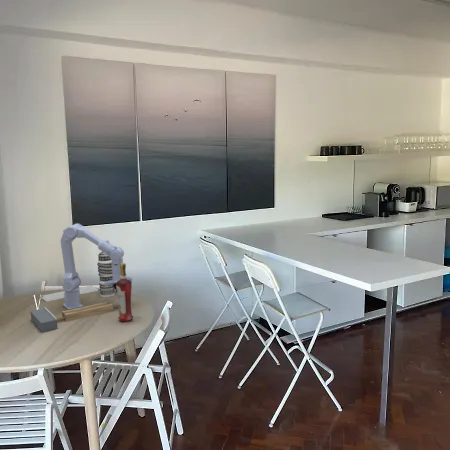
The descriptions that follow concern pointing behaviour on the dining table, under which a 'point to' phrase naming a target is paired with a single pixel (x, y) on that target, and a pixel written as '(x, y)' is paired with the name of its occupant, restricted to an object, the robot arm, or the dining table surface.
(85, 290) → the baseboard
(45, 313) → the groove block
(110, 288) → the white tower model
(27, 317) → the dining table surface
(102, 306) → the oak plank
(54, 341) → the dining table surface
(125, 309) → the liquor
